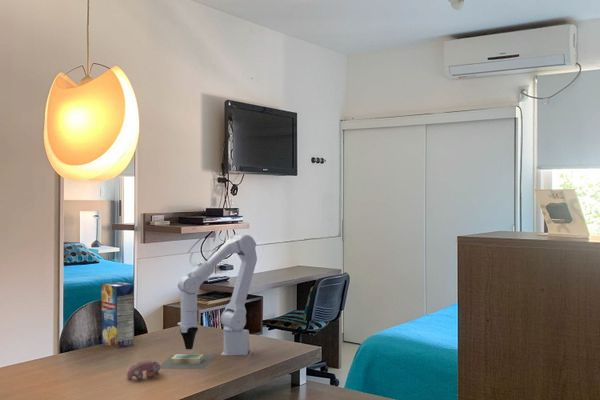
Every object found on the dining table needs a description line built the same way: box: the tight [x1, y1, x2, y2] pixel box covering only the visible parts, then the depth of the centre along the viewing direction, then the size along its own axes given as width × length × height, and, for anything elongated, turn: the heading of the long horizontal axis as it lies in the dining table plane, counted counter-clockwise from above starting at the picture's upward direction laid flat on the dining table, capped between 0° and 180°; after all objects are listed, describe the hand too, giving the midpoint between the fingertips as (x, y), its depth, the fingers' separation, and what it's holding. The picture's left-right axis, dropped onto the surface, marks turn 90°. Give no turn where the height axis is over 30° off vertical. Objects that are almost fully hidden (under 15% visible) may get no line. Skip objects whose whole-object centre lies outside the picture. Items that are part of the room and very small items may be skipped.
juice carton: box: [100, 281, 135, 349], centre depth 230 cm, size 12×8×24 cm, turn 47°
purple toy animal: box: [126, 359, 161, 380], centre depth 184 cm, size 10×5×7 cm, turn 123°
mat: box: [159, 354, 216, 370], centre depth 201 cm, size 16×18×1 cm
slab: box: [171, 353, 204, 364], centre depth 201 cm, size 10×2×6 cm
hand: (189, 348), depth 204 cm, fingers closed
